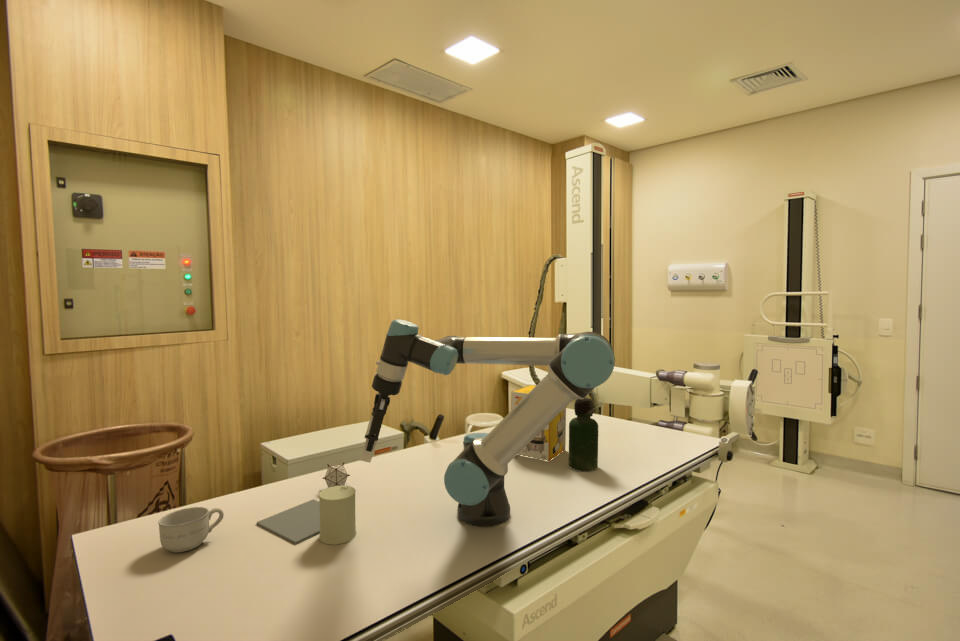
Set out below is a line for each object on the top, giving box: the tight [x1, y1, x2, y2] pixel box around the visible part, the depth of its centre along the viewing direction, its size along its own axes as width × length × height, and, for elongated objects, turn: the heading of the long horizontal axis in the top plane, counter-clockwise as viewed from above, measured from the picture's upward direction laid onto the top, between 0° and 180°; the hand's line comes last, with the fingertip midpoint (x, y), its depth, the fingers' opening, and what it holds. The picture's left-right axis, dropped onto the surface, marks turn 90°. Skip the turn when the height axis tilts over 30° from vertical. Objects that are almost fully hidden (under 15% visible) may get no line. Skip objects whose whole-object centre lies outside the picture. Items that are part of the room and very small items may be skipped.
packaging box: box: [510, 384, 567, 462], centre depth 190 cm, size 16×16×25 cm
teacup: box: [157, 506, 225, 553], centre depth 120 cm, size 14×11×8 cm
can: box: [318, 485, 357, 546], centre depth 124 cm, size 9×9×12 cm
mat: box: [256, 498, 320, 545], centre depth 132 cm, size 18×18×1 cm
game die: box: [321, 462, 351, 488], centre depth 154 cm, size 9×8×10 cm
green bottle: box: [568, 397, 599, 472], centre depth 174 cm, size 10×10×25 cm
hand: (367, 449), depth 130 cm, fingers open, 13 cm apart
